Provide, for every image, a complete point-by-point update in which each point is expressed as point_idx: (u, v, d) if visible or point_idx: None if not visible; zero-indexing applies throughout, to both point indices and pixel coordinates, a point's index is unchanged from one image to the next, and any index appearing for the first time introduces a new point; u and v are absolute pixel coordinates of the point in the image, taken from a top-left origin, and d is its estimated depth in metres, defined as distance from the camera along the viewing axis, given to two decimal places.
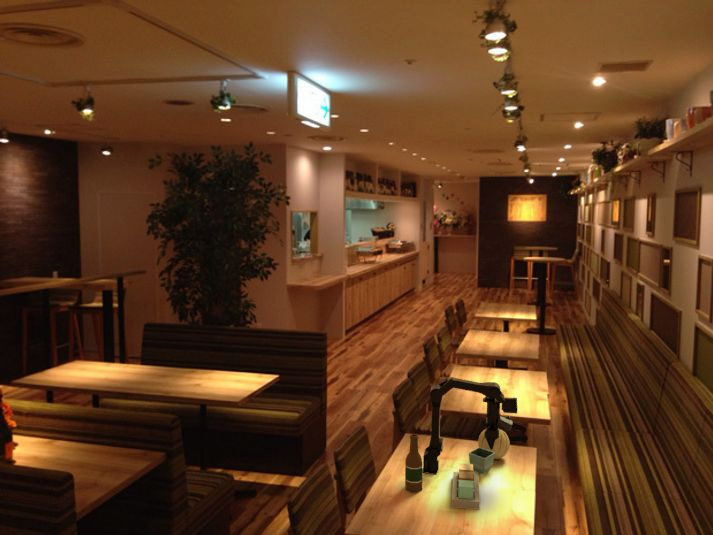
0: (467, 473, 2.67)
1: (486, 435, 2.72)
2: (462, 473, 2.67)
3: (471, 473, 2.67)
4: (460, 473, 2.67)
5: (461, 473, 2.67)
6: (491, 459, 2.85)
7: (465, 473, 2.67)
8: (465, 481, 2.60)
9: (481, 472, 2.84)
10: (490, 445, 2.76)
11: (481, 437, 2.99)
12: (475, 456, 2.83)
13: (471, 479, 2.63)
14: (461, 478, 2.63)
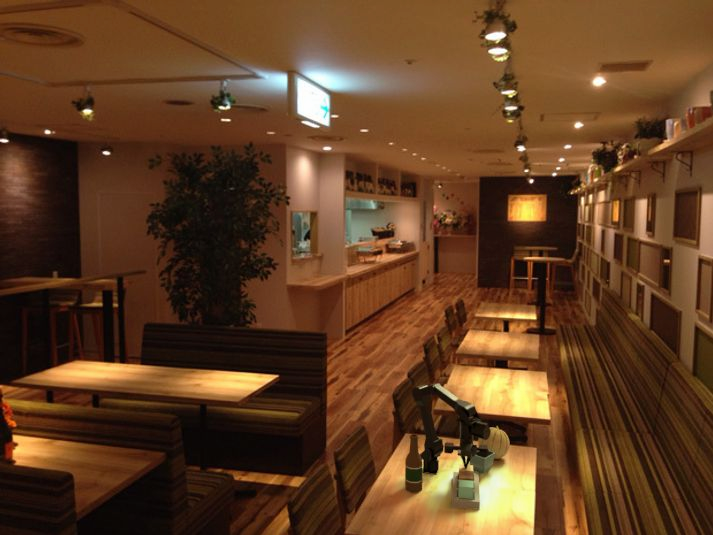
0: (467, 473, 2.67)
1: None
2: (462, 473, 2.67)
3: (471, 473, 2.67)
4: (460, 473, 2.67)
5: (461, 473, 2.67)
6: (491, 459, 2.85)
7: (465, 473, 2.67)
8: (465, 481, 2.60)
9: (481, 472, 2.84)
10: (463, 462, 2.74)
11: None
12: (475, 456, 2.83)
13: (471, 479, 2.63)
14: (461, 478, 2.63)
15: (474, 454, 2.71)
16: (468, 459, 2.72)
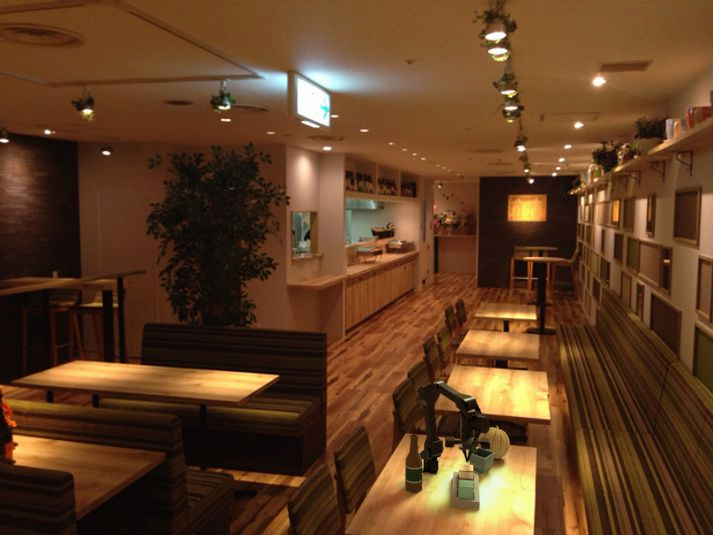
0: (467, 473, 2.67)
1: None
2: (462, 473, 2.67)
3: (471, 473, 2.67)
4: (460, 473, 2.67)
5: (461, 473, 2.67)
6: (491, 459, 2.85)
7: (465, 473, 2.67)
8: (465, 481, 2.60)
9: (481, 472, 2.84)
10: None
11: (481, 437, 2.99)
12: (475, 456, 2.83)
13: (471, 479, 2.63)
14: (461, 478, 2.63)
15: (475, 448, 2.65)
16: (469, 453, 2.66)
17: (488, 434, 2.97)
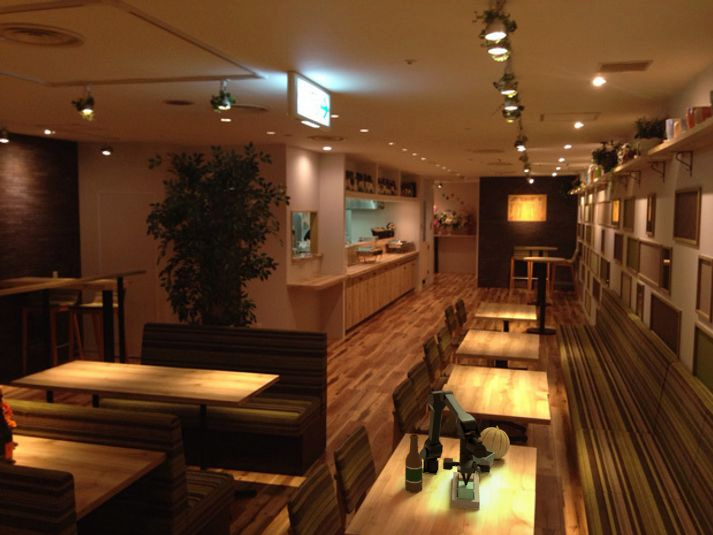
0: None
1: None
2: None
3: None
4: (460, 473, 2.67)
5: None
6: (491, 459, 2.85)
7: (465, 473, 2.67)
8: None
9: (481, 472, 2.84)
10: None
11: (481, 437, 2.99)
12: None
13: (471, 479, 2.63)
14: (461, 478, 2.63)
15: None
16: (468, 476, 2.56)
17: (488, 434, 2.97)
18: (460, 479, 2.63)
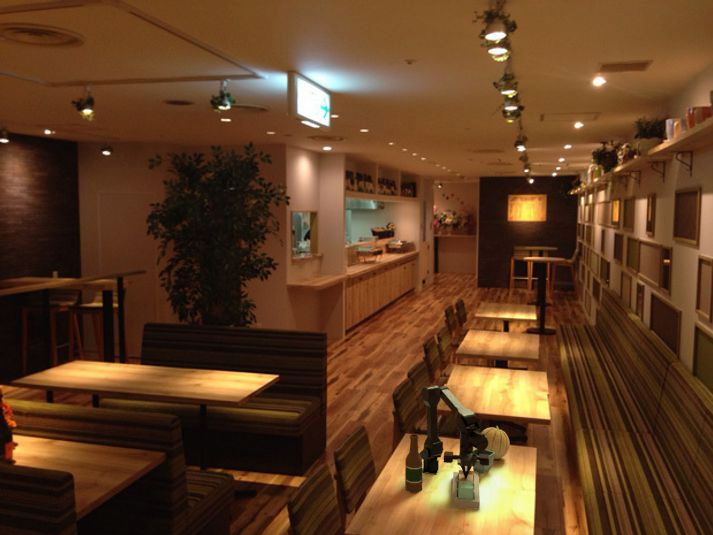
0: (467, 476, 2.67)
1: None
2: (462, 476, 2.67)
3: (471, 476, 2.67)
4: (460, 476, 2.67)
5: (461, 476, 2.67)
6: (491, 459, 2.85)
7: None
8: (465, 482, 2.60)
9: (481, 472, 2.84)
10: None
11: None
12: None
13: None
14: None
15: (474, 463, 2.63)
16: (468, 469, 2.64)
17: (488, 434, 2.97)
18: None
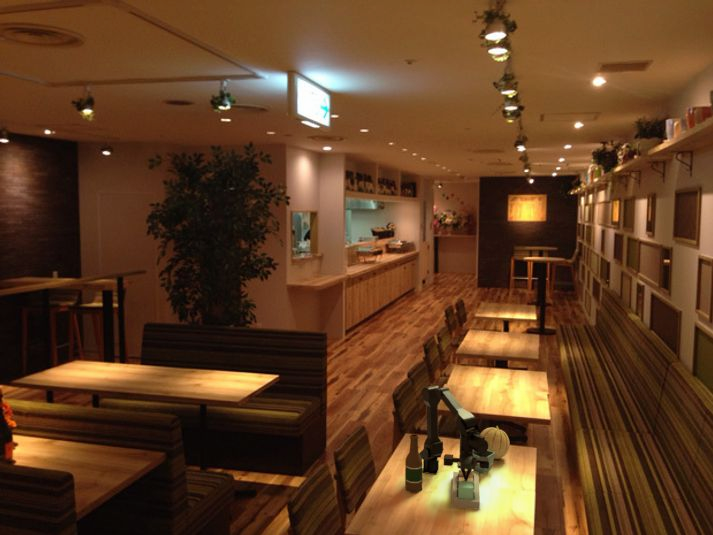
0: (467, 479, 2.67)
1: None
2: (462, 479, 2.68)
3: (471, 479, 2.68)
4: (460, 479, 2.68)
5: (461, 479, 2.68)
6: (491, 459, 2.85)
7: None
8: (465, 482, 2.60)
9: (481, 472, 2.84)
10: None
11: None
12: (475, 456, 2.83)
13: None
14: None
15: (474, 466, 2.63)
16: (468, 472, 2.64)
17: (488, 434, 2.97)
18: None
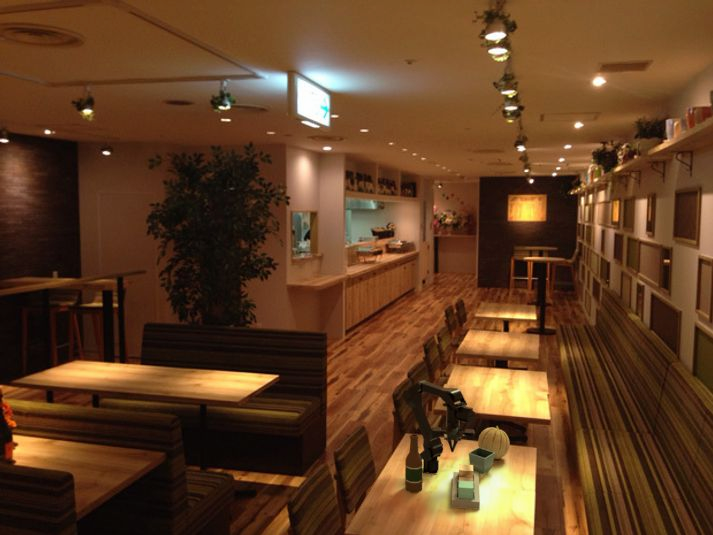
0: (467, 479, 2.67)
1: None
2: (462, 479, 2.68)
3: (471, 479, 2.68)
4: (460, 479, 2.68)
5: (461, 479, 2.68)
6: (491, 459, 2.85)
7: (465, 479, 2.68)
8: (465, 482, 2.60)
9: (481, 472, 2.84)
10: None
11: (481, 437, 2.99)
12: (475, 456, 2.83)
13: None
14: None
15: (460, 438, 2.74)
16: (454, 443, 2.75)
17: (488, 434, 2.97)
18: None
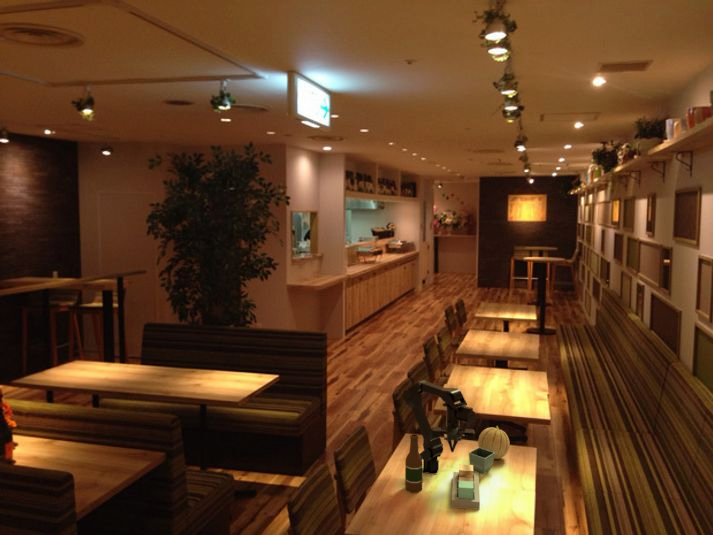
0: (467, 479, 2.67)
1: None
2: (462, 479, 2.68)
3: (471, 479, 2.68)
4: (460, 479, 2.68)
5: (461, 479, 2.68)
6: (491, 459, 2.85)
7: (465, 479, 2.68)
8: (465, 482, 2.60)
9: (481, 472, 2.84)
10: None
11: (481, 437, 2.99)
12: (475, 456, 2.83)
13: None
14: None
15: (460, 438, 2.74)
16: (454, 443, 2.75)
17: (488, 434, 2.97)
18: None
